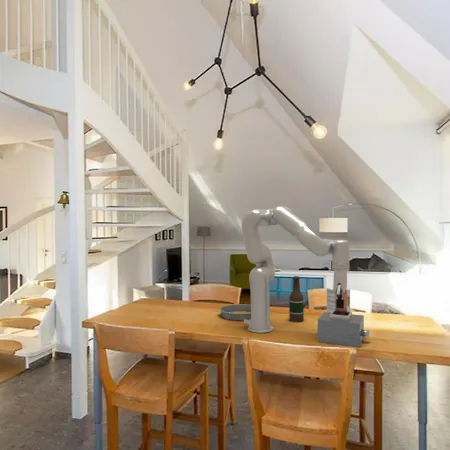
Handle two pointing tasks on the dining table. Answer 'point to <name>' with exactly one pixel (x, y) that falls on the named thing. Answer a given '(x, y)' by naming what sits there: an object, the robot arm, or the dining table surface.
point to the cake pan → (236, 308)
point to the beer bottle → (296, 302)
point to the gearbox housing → (341, 329)
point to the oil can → (344, 311)
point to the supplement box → (332, 300)
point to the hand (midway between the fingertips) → (341, 306)
